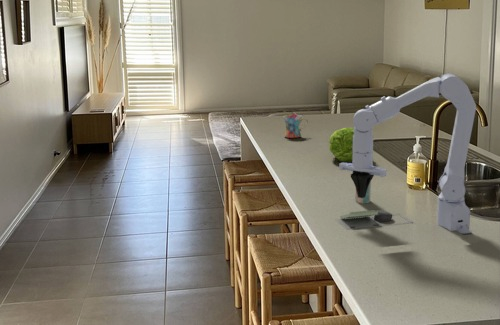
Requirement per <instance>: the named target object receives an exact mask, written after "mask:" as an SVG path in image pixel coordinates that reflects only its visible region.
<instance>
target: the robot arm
mask: <svg viewBox="0 0 500 325" xmlns="http://www.w3.org/2000/svg"><path fill="white" fill-rule="evenodd" d="M440 95H441V96H442V97H443V98H444V99H445V100H448V101H449V102H450V103H452V105H453V106H454V107H455V109H456V114H455V118H454V125H453V128H452V129H453V130H452V136H451V141H450V144H449V145H450V146H449V149H448V150H449V151H448V152H449V153H448V155H447V162H446V165H445V167H444V171H443V172H442V173H443V174H442V175H441V176H440V178H439V180H438V187H439V188H440V190H441V192H440V194H438V197H437V213H436V224H437V226H440V227H442V228H445V229H446V230H448V231H449V232H453V231H455V232H456V231H457V232H458V233H460V234H461V235H463V234H465V235H466V234H472V233H473V231H472V230H471V229H470V225H471V224H470V221H471V210H470V208H469V207H468V206H467V205H466V202H465V194H466V187H465V183H464V182H465V166H466V161H467V157H468V151H469V146H470V141H471V136H472V131H473V126H474V121H475V115H476V111H477V110H476V109H477V104H476V102H475V99H474V98H473V96H472V93H471V91H470V89H469V86H468V85H467V84H466V83H465V81H463V80H462V79H461V78H459V77H458V76H457V75H456V74H454V73H449V72H448V73H444V74H441V76H440V77H439V76H437V77H434V78H431V79H430V80H427V81H425V82H424V83H422V84H419V85H418V86H415V87H414V88H412V89H409V90H408V91H406V92H405V93H402V94H400V95H399V96H397V97H393V96H387V97H386V96H385V95H384V96H382V97H381V98H380V100H378V101H377V102H375V103H372V104H370V105H369V104H367V105H365V108H362V109H359V110H357V111H356V112H355V113H354V115H353V118H352V119H353V120H352V122H353V123H352V124H353V126H354V127H353V128H354V131H353V132H354V135H353V162H343V161H342V162H340V163H338V164H339V166H338V169H339V171H349V172H352V173H350V179H351V180H352V182H353V184H354V186H355V191H356V190H357V194H358V197H359V198H364V197H365V196H366V192H367V189H368V186H369V184H370V182H372V179H373V178H374V177H375V176H379V177H380V178H385V177H387V169H386V168H382V167H378V166H375V165H374V164H373V163H374V162H373V159H374V135H373V128H374V126H375V125H379V124H381V123H384V122H386V121H387V120H388V121H389V120H390V119H392V118H394V117H396V116H398V115H399V114H400V111H401V109H402V108H404V107H407V106H409V105H411V104H413V103H415V102H418V101H419V100H422V99H423V100H424V98H427V97H431V98H440Z"/></svg>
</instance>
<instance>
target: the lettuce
mask: <svg viewBox="0 0 500 325" xmlns="http://www.w3.org/2000/svg"><path fill="white" fill-rule="evenodd" d="M353 131H354V127H343V128H340V129H338V130H335V131H334V132H333V133H332V134H331V135H330V138H329V142H328V150H329V152H331V153H332V155H333V156H334V157H335V158H336V159H337V160H338V161H340V162H342V163H343V162H344V163H353V135H354V132H353Z"/></svg>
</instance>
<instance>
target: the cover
mask: <svg viewBox="0 0 500 325" xmlns="http://www.w3.org/2000/svg"><path fill="white" fill-rule="evenodd" d="M375 211H376V210H375V209H372V210H361V211H350V212H349V213H348V214H344V215H341V216H340V218H339V219H348V218H359V217H369V216H375V215H377V214H378V212H375Z"/></svg>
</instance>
